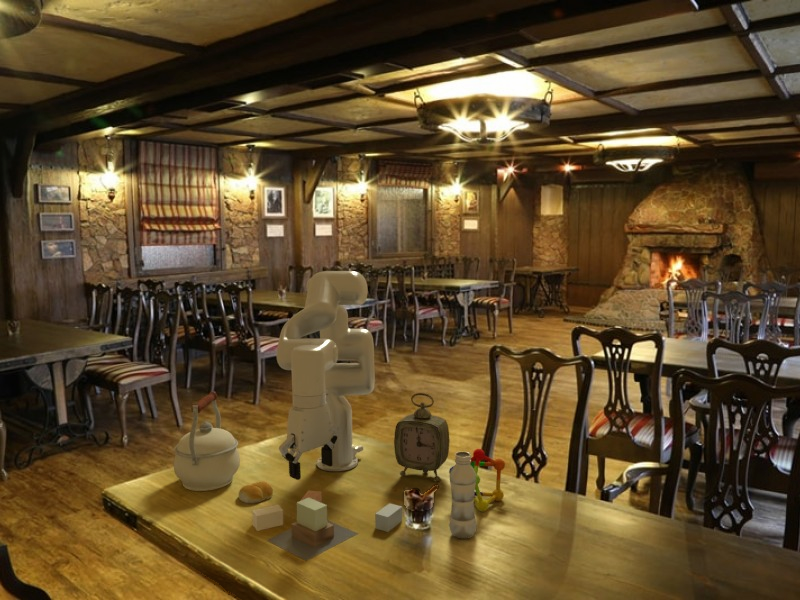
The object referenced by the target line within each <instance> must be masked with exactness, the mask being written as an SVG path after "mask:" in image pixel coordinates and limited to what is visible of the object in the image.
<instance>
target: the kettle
mask: <svg viewBox="0 0 800 600" xmlns="http://www.w3.org/2000/svg"><path fill="white" fill-rule="evenodd" d="M217 398H218V395H217V393H216V391H210V392H209V393H208V394H207V395H205V396H204V397H202V398H201V399H199V401H197V403H195V404H192V406H191V408H190V410H191V412H192V423H191V428H190V432H188V433H186V434H184V435H183V436H182V437H181V438H180V439H179V440H178V443H177V444H176V445H175V446H174V449H173V451H174V453H175V457H174V460H173V471H174V474H175V476H176V478H178V480H179V481H181V482H182V486H183V487H184V488H185V489H187V490H189V491H194V492H208V491H210V492H211V491H214V490H218V489H219V490H220V489H221V488H224V487H227V486H228V485H230V484H231V482H232V481H233V480H234V476H235V474H236V473H237V472H238V470H239V468H240V466H241V456H240V452H239V449H238V446H239V442H238V439H236V438H235V437H234V435H233V434H232V433H231V432H230V431H228V430H226V429H224V428H221V427H222V419H221V418H222V417H221V413H220V410H219V408H218V406H217ZM209 405H211V408H212V409H213V411H214V414H215V427H214V426H213V425H212V423H211V422H209V421H206V420H205V421H203V422H202V423H201V424H200V425H199V426H198V423H199V422H198V421H199V413H201V412H202V410H204V409H206V408H207V407H208V406H209ZM197 426H198V427H197ZM197 428H198V429H197Z"/></svg>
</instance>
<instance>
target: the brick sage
mask: <svg viewBox="0 0 800 600" xmlns="http://www.w3.org/2000/svg"><path fill="white" fill-rule="evenodd" d="M300 500H301V499H300ZM300 500H299V501H297V502H296V520H297V521H296V522H297V523H299V524H301V525H303V526H305V527H307V528H309V529H312V530H314V531H318V530H320V529H322V528H324V527H326V526H327V520H328V504H325V503H324V502H322V503H321V502H318V501H316V500H313V499H311V498H309V497H308V498H306V499H304V500H301V501H300Z"/></svg>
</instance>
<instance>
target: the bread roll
mask: <svg viewBox="0 0 800 600" xmlns="http://www.w3.org/2000/svg"><path fill="white" fill-rule="evenodd" d="M273 494H274V489H273V487H272V485H271V484H270V483H268V482H267V481H258V482H257V481H256V482H253V483H251V484H246V485H243V486H242V487H241V488H240V489H239V491H238V499H239V500H240V501H241V502H243V503H246V504H257V503H261V502H263V501H264V500H265V501H267V500H268V499H271V497H272V496H273Z"/></svg>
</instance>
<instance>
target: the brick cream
mask: <svg viewBox="0 0 800 600" xmlns="http://www.w3.org/2000/svg"><path fill="white" fill-rule="evenodd" d="M251 513H252V514H251V515H252V526H253V527H254V529H255V530H256V531H257V532H258V531H262V530H267V529H271V528H275V527H279V526H283V525H284V510H283V509H282V507H281V506H280V505H279V504H274V505H270V506H265V507H260V508H256V509H252V510H251Z"/></svg>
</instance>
